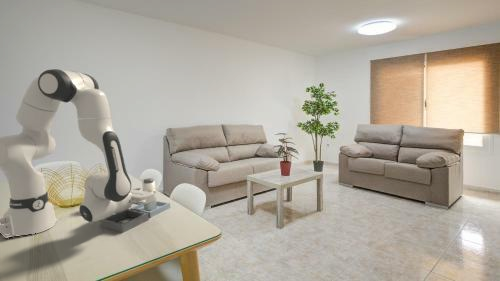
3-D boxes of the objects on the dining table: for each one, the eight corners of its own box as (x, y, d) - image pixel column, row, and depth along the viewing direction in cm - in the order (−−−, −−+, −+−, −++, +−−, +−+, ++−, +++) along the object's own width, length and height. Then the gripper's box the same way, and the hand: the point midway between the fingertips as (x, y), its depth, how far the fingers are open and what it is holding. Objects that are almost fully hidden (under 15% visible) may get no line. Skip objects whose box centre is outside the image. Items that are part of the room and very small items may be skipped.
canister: (141, 209, 127) (139, 180, 125) (150, 205, 132) (148, 177, 130) (150, 211, 124) (148, 181, 123) (159, 207, 129) (157, 178, 127)
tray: (130, 213, 125) (130, 208, 125) (151, 204, 137) (150, 199, 136) (150, 217, 120) (150, 212, 120) (170, 207, 131) (170, 203, 131)
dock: (101, 226, 111) (100, 219, 111) (127, 215, 123) (127, 208, 123) (123, 232, 106) (122, 225, 105) (148, 219, 117) (148, 213, 117)
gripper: (139, 196, 109) (163, 186, 121) (104, 190, 118) (131, 181, 130) (140, 211, 110) (164, 200, 122) (106, 204, 118) (132, 194, 131)
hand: (147, 190), depth 126 cm, fingers open, 8 cm apart
